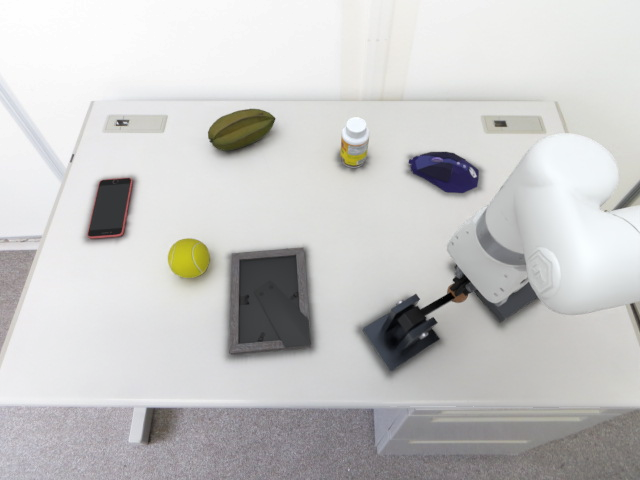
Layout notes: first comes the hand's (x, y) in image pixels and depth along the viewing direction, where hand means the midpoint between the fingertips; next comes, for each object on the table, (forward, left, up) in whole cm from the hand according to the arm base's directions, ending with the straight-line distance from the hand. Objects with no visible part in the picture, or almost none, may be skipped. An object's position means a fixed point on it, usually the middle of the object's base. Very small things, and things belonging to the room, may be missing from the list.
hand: (460, 288), depth 58 cm
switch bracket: (0, +10, -9) cm, 13 cm away
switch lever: (0, +5, -2) cm, 5 cm away
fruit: (+53, +14, -9) cm, 55 cm away
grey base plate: (-1, -11, -9) cm, 14 cm away
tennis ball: (+30, +35, -9) cm, 47 cm away
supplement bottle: (+36, -4, -9) cm, 37 cm away
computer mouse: (+23, -18, -9) cm, 31 cm away
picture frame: (+17, +26, -9) cm, 32 cm away
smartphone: (+51, +44, -9) cm, 68 cm away
